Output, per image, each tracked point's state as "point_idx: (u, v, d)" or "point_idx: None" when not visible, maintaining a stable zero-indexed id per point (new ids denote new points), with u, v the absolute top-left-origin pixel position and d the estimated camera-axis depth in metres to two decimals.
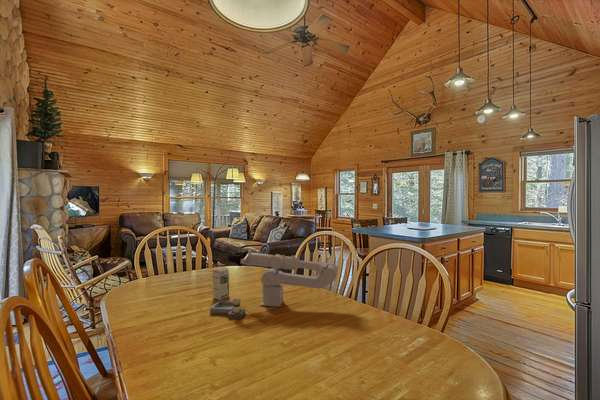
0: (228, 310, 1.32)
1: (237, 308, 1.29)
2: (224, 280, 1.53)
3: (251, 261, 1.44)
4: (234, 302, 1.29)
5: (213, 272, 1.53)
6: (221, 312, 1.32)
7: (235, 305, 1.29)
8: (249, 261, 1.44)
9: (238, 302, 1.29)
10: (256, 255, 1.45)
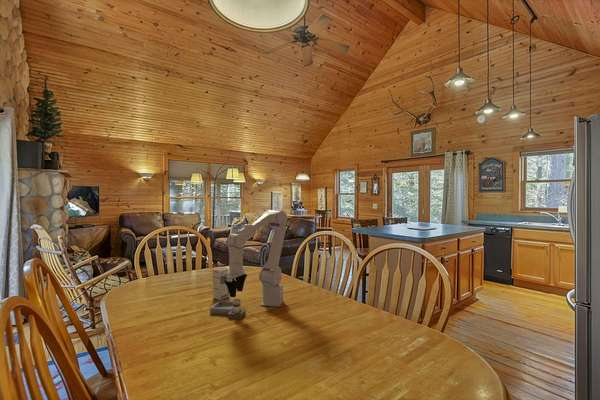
0: (228, 310, 1.32)
1: (237, 308, 1.29)
2: (224, 280, 1.53)
3: (235, 269, 1.27)
4: (234, 302, 1.29)
5: (213, 272, 1.53)
6: (221, 312, 1.32)
7: (235, 305, 1.29)
8: (235, 272, 1.27)
9: (238, 302, 1.29)
10: (229, 264, 1.29)
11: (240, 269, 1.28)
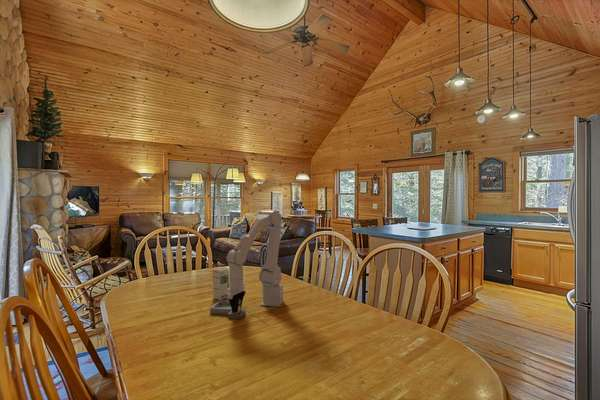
0: (228, 310, 1.32)
1: None
2: (224, 280, 1.53)
3: (235, 286, 1.27)
4: None
5: (213, 272, 1.53)
6: (221, 312, 1.32)
7: None
8: (235, 289, 1.27)
9: None
10: (229, 281, 1.29)
11: (240, 286, 1.28)
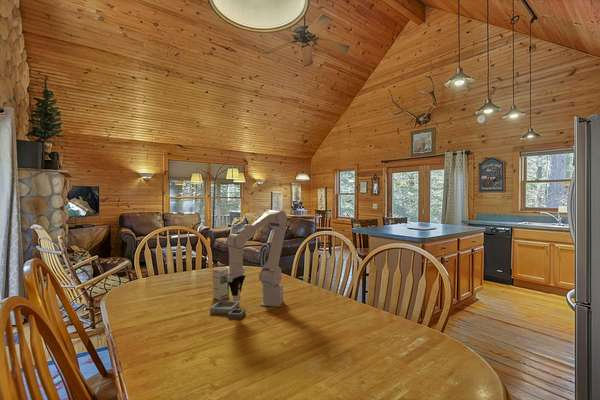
0: (228, 310, 1.32)
1: None
2: (224, 280, 1.53)
3: (235, 270, 1.27)
4: None
5: (213, 272, 1.53)
6: (221, 312, 1.32)
7: None
8: (235, 272, 1.27)
9: None
10: (229, 264, 1.29)
11: (240, 269, 1.28)
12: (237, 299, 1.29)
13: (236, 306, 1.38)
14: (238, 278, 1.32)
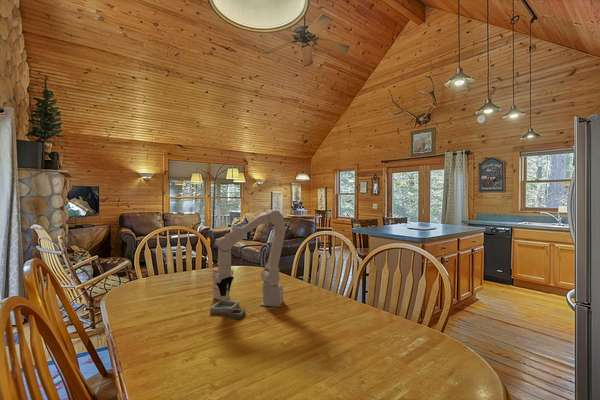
0: (228, 310, 1.32)
1: None
2: None
3: (223, 271, 1.34)
4: None
5: (213, 272, 1.53)
6: (221, 312, 1.32)
7: None
8: (223, 273, 1.34)
9: None
10: (218, 266, 1.36)
11: (228, 271, 1.35)
12: (225, 299, 1.36)
13: (236, 306, 1.38)
14: (226, 279, 1.39)
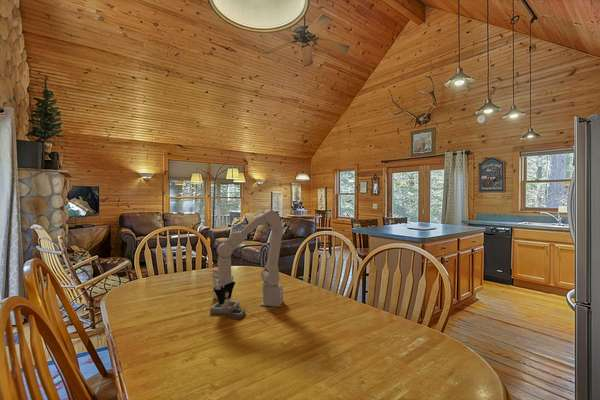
0: (228, 310, 1.32)
1: (225, 301, 1.36)
2: None
3: (223, 278, 1.34)
4: None
5: (213, 272, 1.53)
6: (221, 312, 1.32)
7: None
8: (223, 280, 1.34)
9: (226, 295, 1.36)
10: (218, 272, 1.36)
11: (228, 277, 1.35)
12: None
13: (236, 306, 1.38)
14: (228, 284, 1.40)
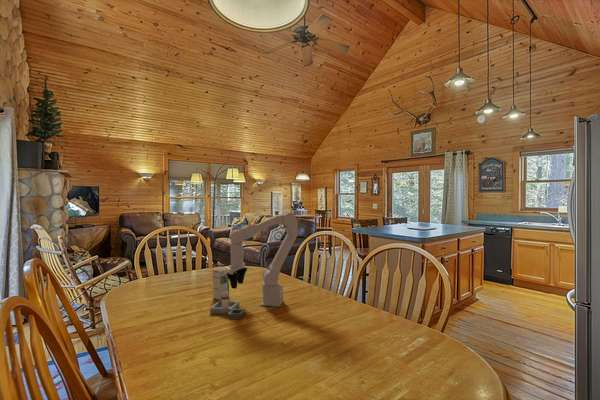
0: (228, 310, 1.32)
1: (225, 301, 1.36)
2: (224, 280, 1.53)
3: (236, 263, 1.39)
4: (222, 295, 1.36)
5: (213, 272, 1.53)
6: (221, 312, 1.32)
7: (223, 298, 1.36)
8: (236, 265, 1.39)
9: (226, 295, 1.36)
10: (231, 258, 1.41)
11: (241, 263, 1.40)
12: None
13: (236, 306, 1.38)
14: (240, 270, 1.46)
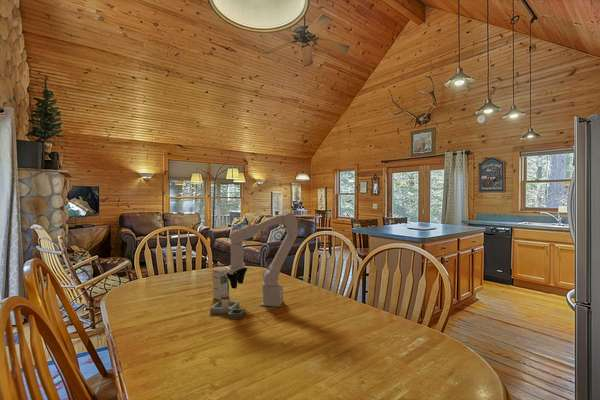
0: (228, 310, 1.32)
1: (225, 301, 1.36)
2: (224, 280, 1.53)
3: (236, 263, 1.39)
4: (222, 295, 1.36)
5: (213, 272, 1.53)
6: (221, 312, 1.32)
7: (223, 298, 1.36)
8: (236, 265, 1.39)
9: (226, 295, 1.36)
10: (231, 258, 1.41)
11: (241, 263, 1.40)
12: None
13: (236, 306, 1.38)
14: (240, 270, 1.46)
